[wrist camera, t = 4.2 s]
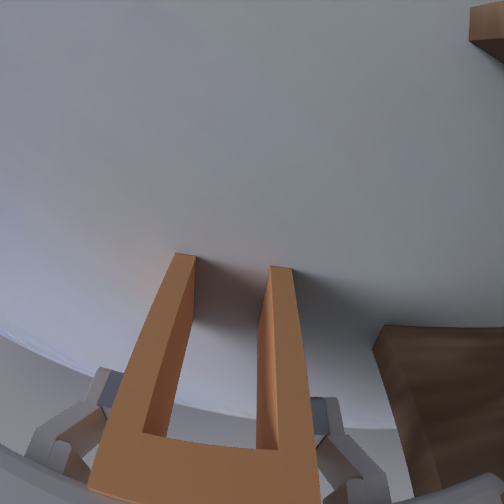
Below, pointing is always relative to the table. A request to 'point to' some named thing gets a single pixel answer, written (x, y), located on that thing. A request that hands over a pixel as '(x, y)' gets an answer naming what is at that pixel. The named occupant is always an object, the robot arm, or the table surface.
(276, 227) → the table surface
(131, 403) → the orange forked block
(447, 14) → the table surface
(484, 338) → the wooden slider frame
